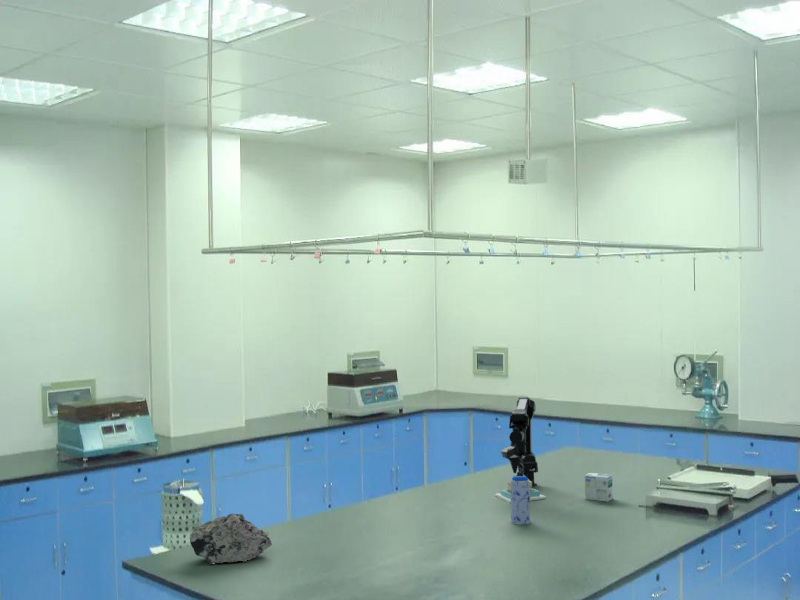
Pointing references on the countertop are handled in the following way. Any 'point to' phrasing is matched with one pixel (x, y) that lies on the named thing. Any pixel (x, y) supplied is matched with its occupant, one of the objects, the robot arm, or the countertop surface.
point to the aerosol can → (520, 499)
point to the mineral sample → (229, 540)
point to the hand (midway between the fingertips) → (519, 475)
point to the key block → (510, 486)
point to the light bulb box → (598, 487)
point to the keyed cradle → (507, 495)
